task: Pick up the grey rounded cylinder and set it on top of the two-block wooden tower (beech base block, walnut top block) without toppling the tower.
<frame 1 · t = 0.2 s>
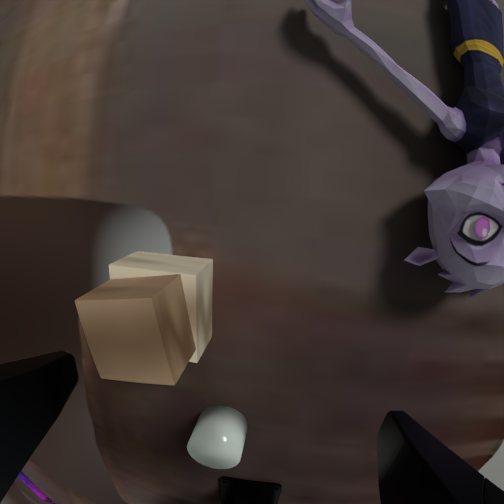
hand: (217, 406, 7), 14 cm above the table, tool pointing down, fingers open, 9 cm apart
handgun: (56, 500, 40), on the table
grey rounded cylinder: (223, 422, 25), on the table
toy: (466, 82, 16), on the table
top block: (152, 314, 19), point 4 cm above the table
base block: (174, 293, 23), on the table
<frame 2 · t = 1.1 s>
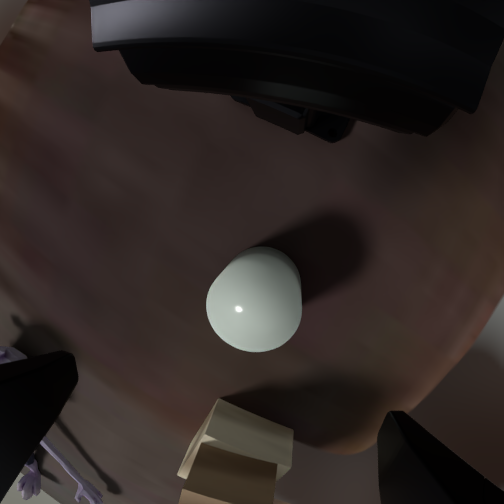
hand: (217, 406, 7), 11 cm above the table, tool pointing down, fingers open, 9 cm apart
grey rounded cylinder: (262, 284, 18), on the table
toy: (28, 419, 26), on the table
top block: (230, 473, 17), point 4 cm above the table, touching base block
base block: (239, 436, 21), on the table, touching top block
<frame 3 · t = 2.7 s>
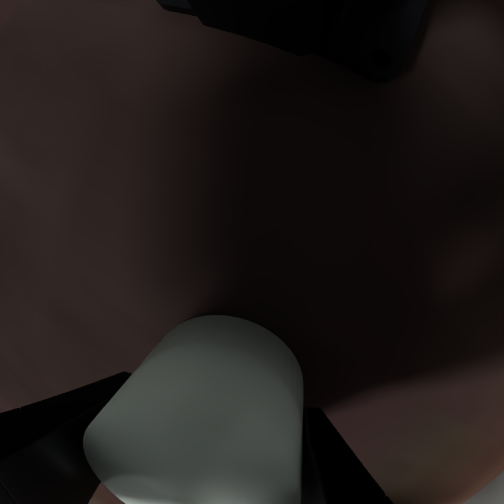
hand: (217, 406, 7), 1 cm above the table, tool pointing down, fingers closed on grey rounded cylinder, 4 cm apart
grey rounded cylinder: (225, 384, 8), on the table, touching gripper
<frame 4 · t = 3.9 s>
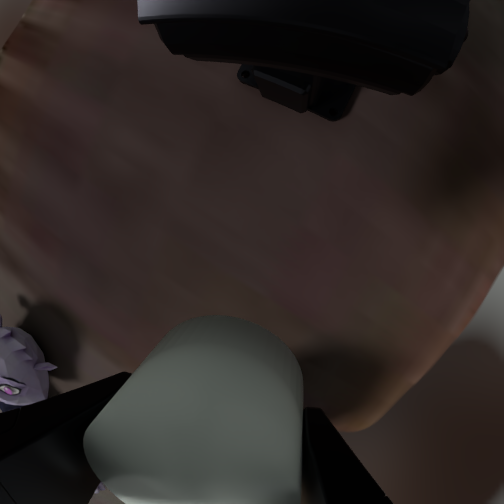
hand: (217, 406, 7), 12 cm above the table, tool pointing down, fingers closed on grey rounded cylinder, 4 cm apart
grey rounded cylinder: (225, 384, 8), point 11 cm above the table, touching gripper
toy: (31, 404, 27), on the table
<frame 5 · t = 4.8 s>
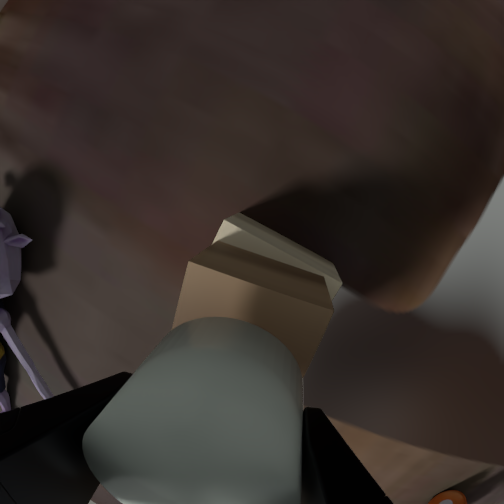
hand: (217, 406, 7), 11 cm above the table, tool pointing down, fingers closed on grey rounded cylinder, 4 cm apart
grey rounded cylinder: (225, 385, 8), point 10 cm above the table, touching gripper
toy: (2, 328, 24), on the table
top block: (253, 308, 14), point 4 cm above the table, touching base block
base block: (262, 282, 18), on the table, touching top block
when the fingers open (10 cm above the table, at t = 5.2 s): grey rounded cylinder drops 2 cm, resting on top block.
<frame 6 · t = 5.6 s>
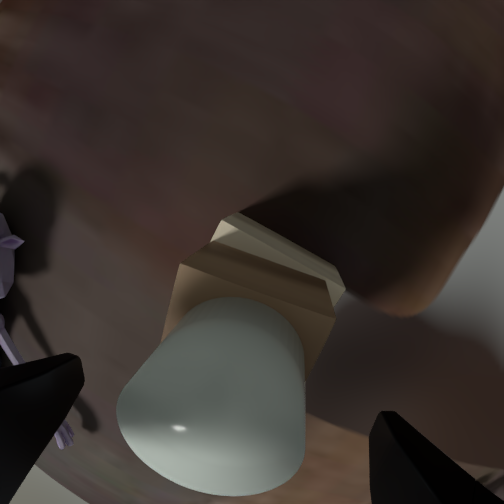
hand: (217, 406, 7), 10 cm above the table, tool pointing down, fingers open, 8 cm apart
grey rounded cylinder: (236, 359, 10), point 8 cm above the table, touching top block
top block: (250, 312, 14), point 4 cm above the table, touching grey rounded cylinder
base block: (261, 285, 18), on the table
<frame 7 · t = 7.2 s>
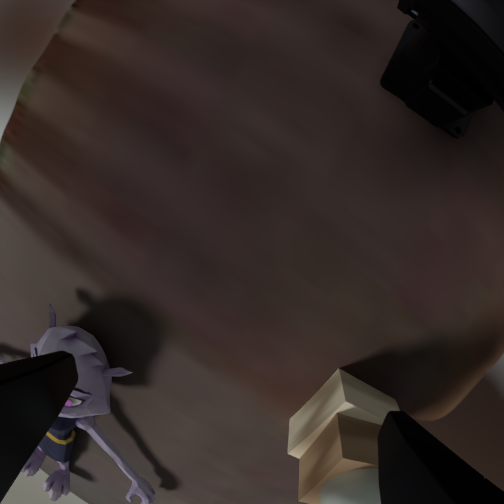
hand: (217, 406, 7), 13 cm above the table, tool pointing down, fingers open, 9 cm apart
grey rounded cylinder: (355, 488, 14), point 8 cm above the table, touching top block
toy: (70, 411, 26), on the table
top block: (348, 445, 17), point 4 cm above the table, touching base block, grey rounded cylinder
base block: (343, 410, 21), on the table, touching top block
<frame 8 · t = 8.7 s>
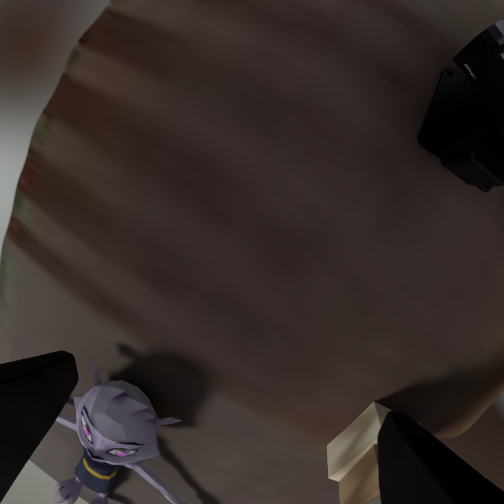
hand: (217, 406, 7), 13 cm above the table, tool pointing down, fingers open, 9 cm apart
toy: (111, 447, 27), on the table
top block: (381, 468, 18), point 4 cm above the table, touching base block, grey rounded cylinder
base block: (374, 434, 22), on the table, touching top block
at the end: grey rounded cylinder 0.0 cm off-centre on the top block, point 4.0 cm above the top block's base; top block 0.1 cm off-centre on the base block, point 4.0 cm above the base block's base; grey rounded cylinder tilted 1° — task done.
